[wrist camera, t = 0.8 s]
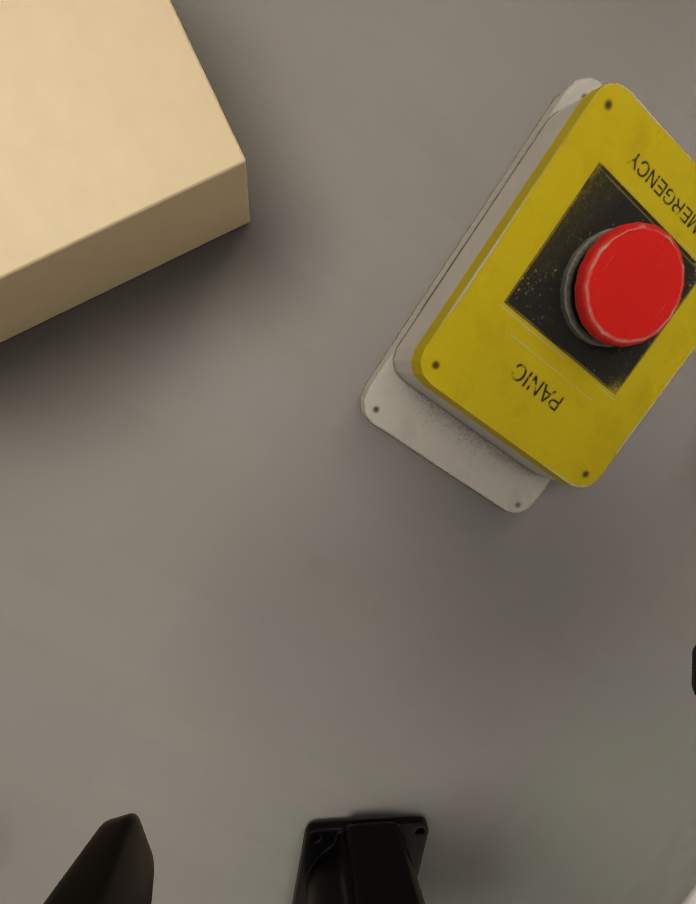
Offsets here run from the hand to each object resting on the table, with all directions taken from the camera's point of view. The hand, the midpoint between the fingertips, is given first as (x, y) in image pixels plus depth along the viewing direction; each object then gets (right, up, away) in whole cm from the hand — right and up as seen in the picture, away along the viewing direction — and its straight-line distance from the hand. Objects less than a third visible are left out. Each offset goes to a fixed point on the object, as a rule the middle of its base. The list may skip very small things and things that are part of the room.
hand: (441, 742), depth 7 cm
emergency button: (+7, +10, +12) cm, 17 cm away
